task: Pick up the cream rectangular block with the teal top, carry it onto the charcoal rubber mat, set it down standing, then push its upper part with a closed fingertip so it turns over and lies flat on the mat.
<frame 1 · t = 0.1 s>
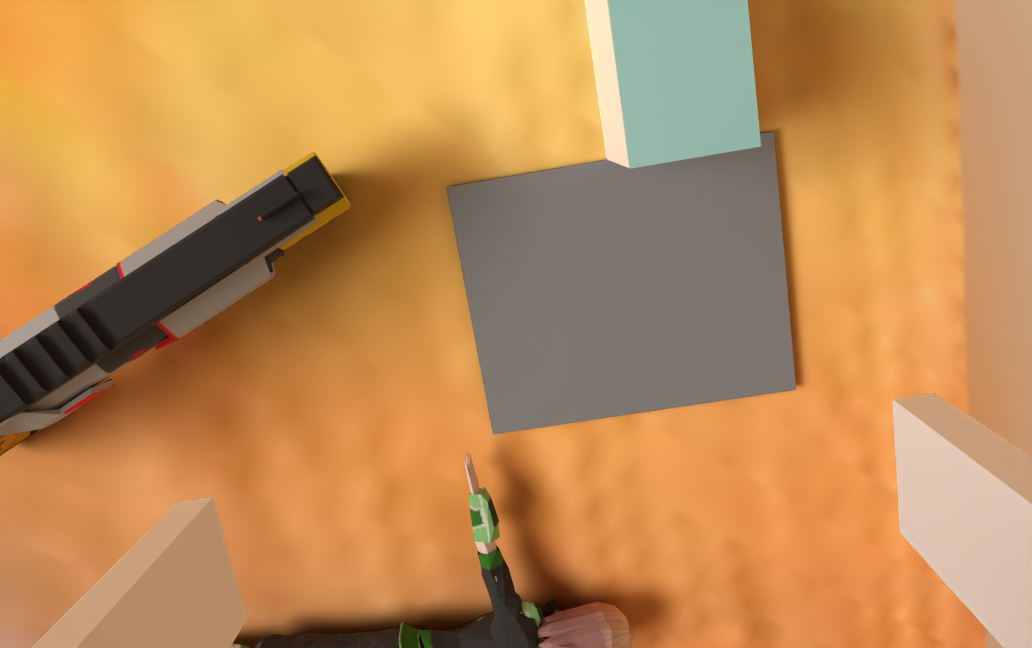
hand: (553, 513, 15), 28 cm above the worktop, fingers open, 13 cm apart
cream rectangular block: (644, 72, 39), on the worktop
toy gun: (167, 309, 43), on the worktop
mat: (624, 288, 42), on the worktop
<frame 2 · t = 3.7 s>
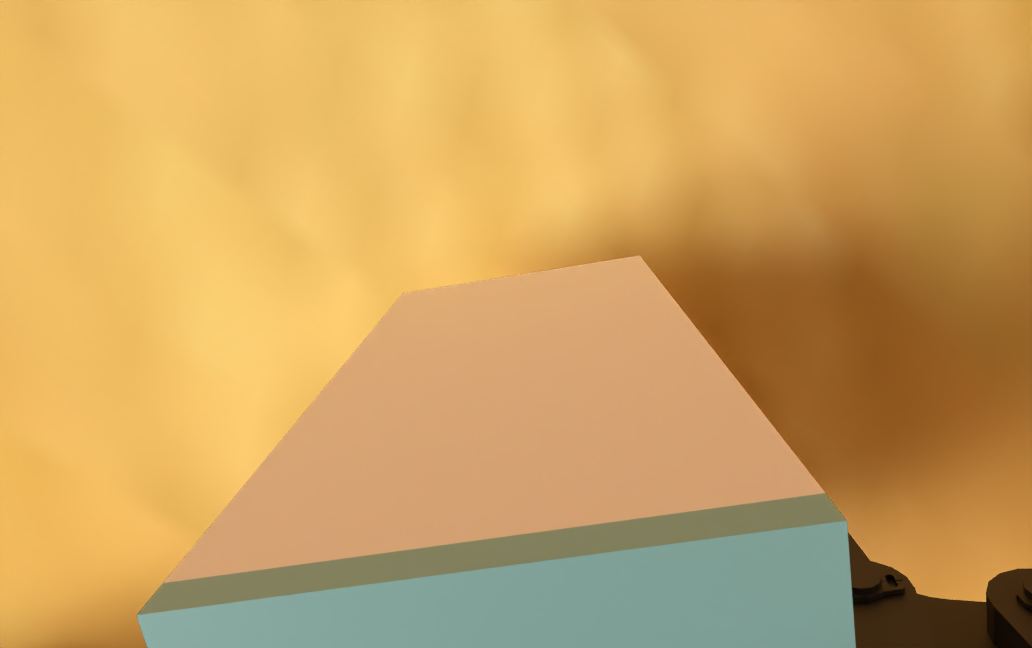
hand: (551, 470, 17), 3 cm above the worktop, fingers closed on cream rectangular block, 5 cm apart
cream rectangular block: (549, 450, 17), point 3 cm above the worktop, touching gripper
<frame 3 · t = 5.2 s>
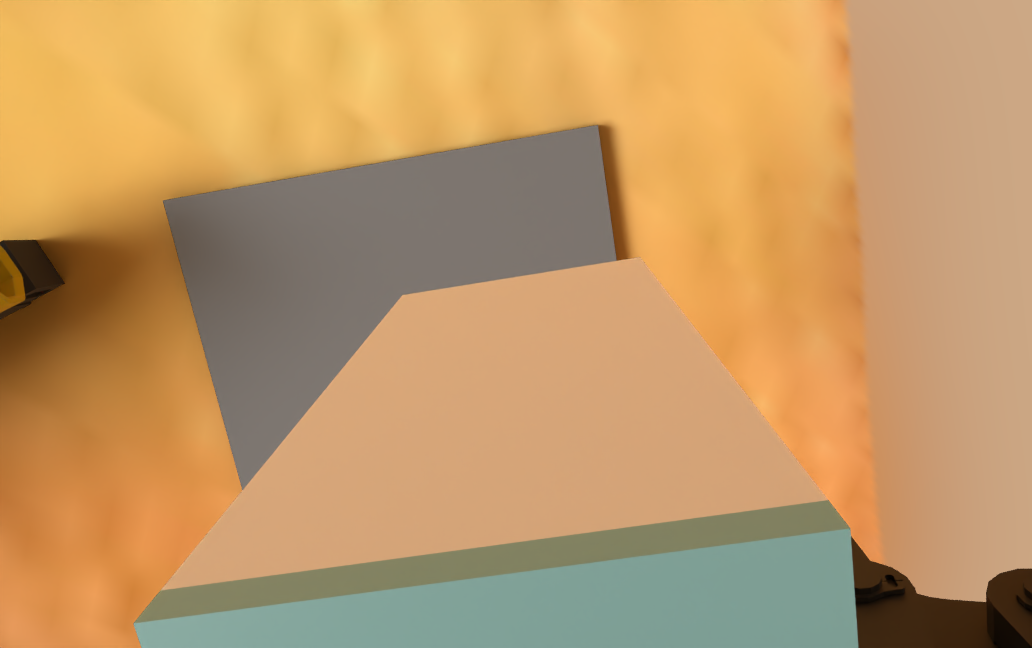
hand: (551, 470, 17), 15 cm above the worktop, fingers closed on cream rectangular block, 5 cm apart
cream rectangular block: (549, 452, 17), point 15 cm above the worktop, touching gripper
mat: (414, 335, 31), on the worktop
when the fingers open (2 cm above the worktop, at t = 7.4 s): cream rectangular block stays where it is, resting on mat.
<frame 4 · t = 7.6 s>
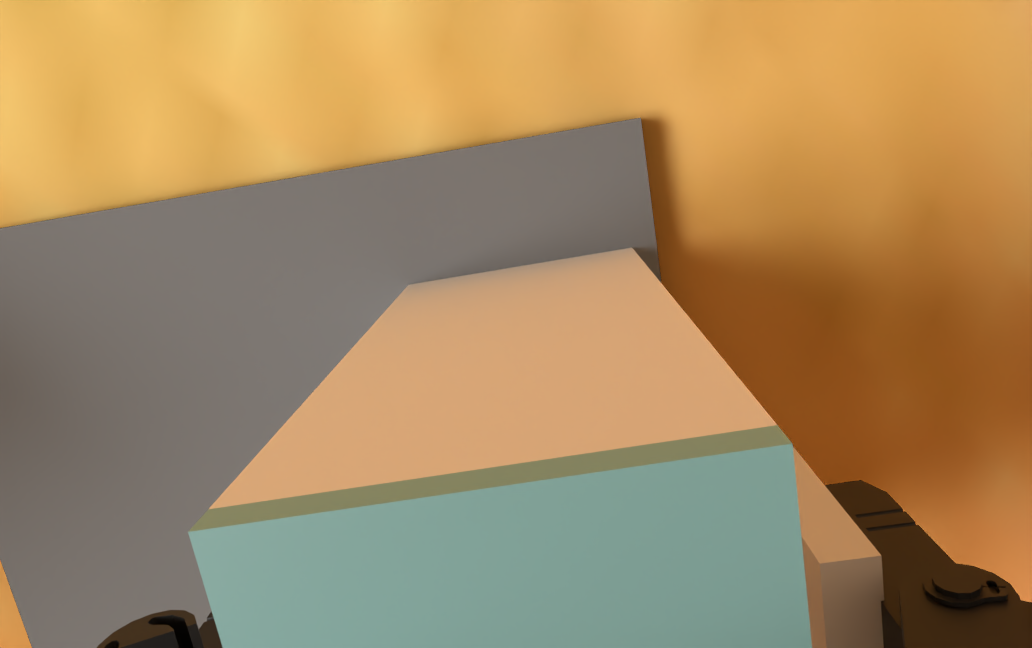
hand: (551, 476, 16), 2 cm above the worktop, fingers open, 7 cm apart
cream rectangular block: (548, 434, 18), point 1 cm above the worktop, touching mat
mat: (329, 468, 19), on the worktop
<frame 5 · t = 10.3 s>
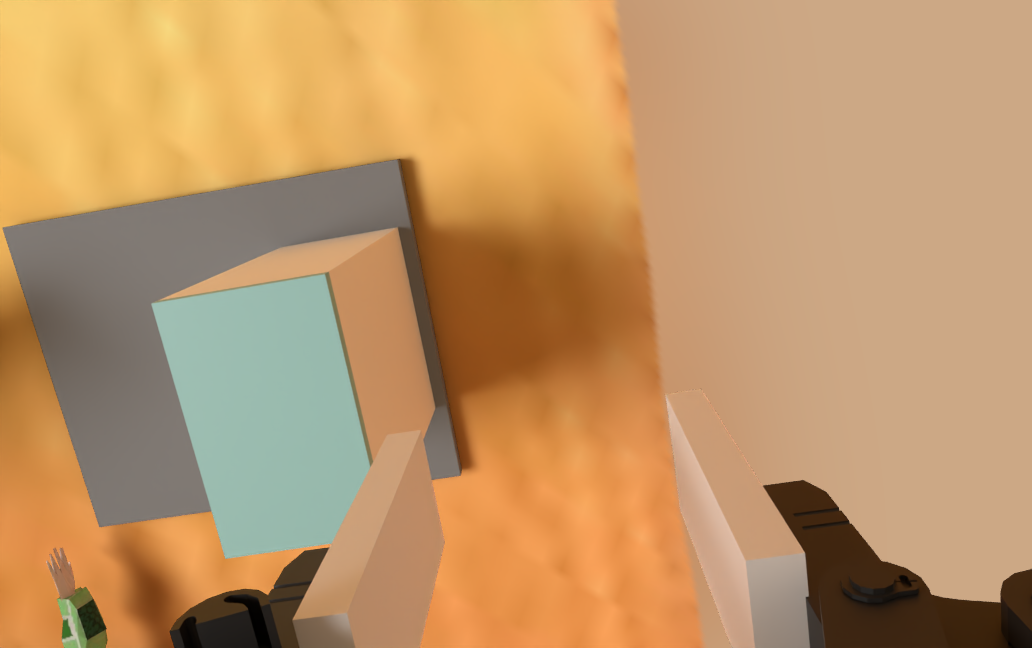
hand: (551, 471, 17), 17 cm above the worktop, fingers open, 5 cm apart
cream rectangular block: (360, 329, 33), point 1 cm above the worktop, touching mat
mat: (243, 351, 34), on the worktop
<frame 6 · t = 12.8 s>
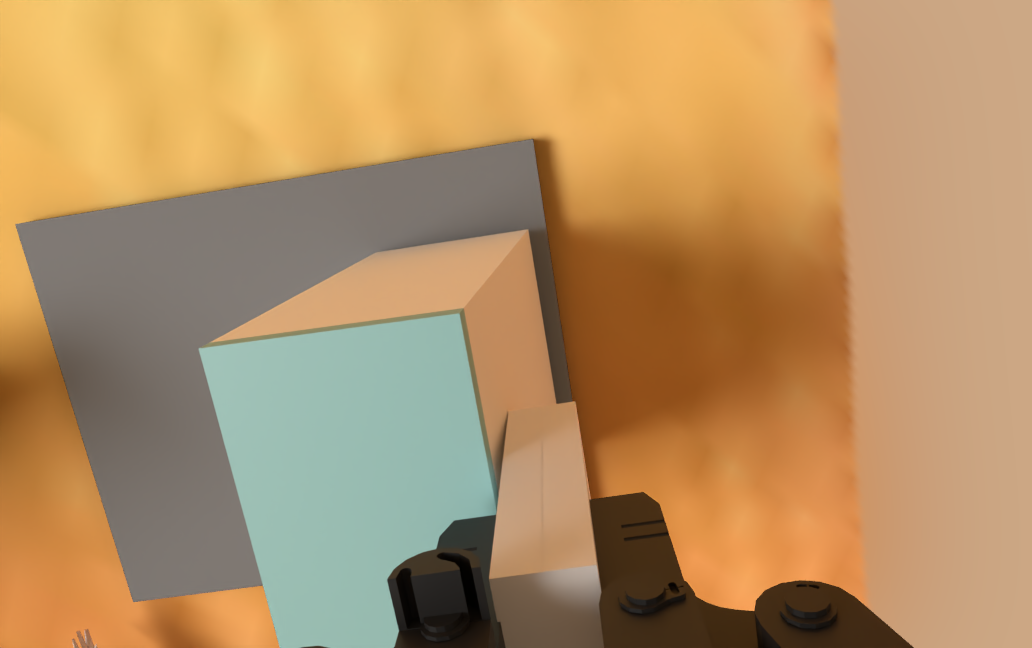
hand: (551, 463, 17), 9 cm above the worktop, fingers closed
cream rectangular block: (473, 360, 25), point 1 cm above the worktop, tilted 6°, touching mat
mat: (321, 384, 27), on the worktop
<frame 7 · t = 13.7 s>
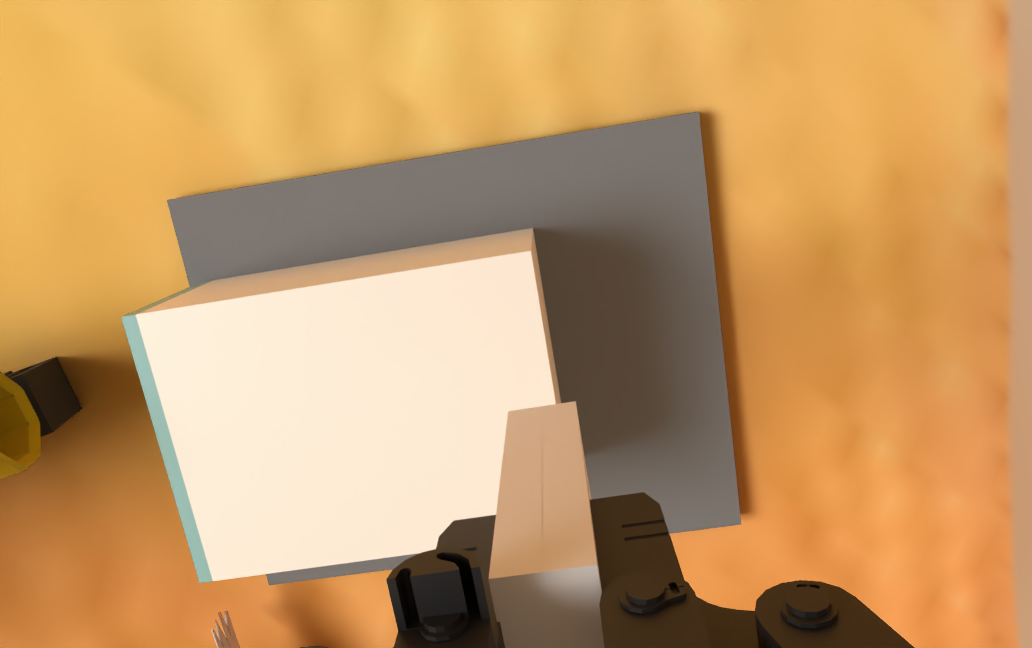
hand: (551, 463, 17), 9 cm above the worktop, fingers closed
cream rectangular block: (553, 369, 23), point 3 cm above the worktop, tilted 90°, touching mat
mat: (467, 363, 26), on the worktop
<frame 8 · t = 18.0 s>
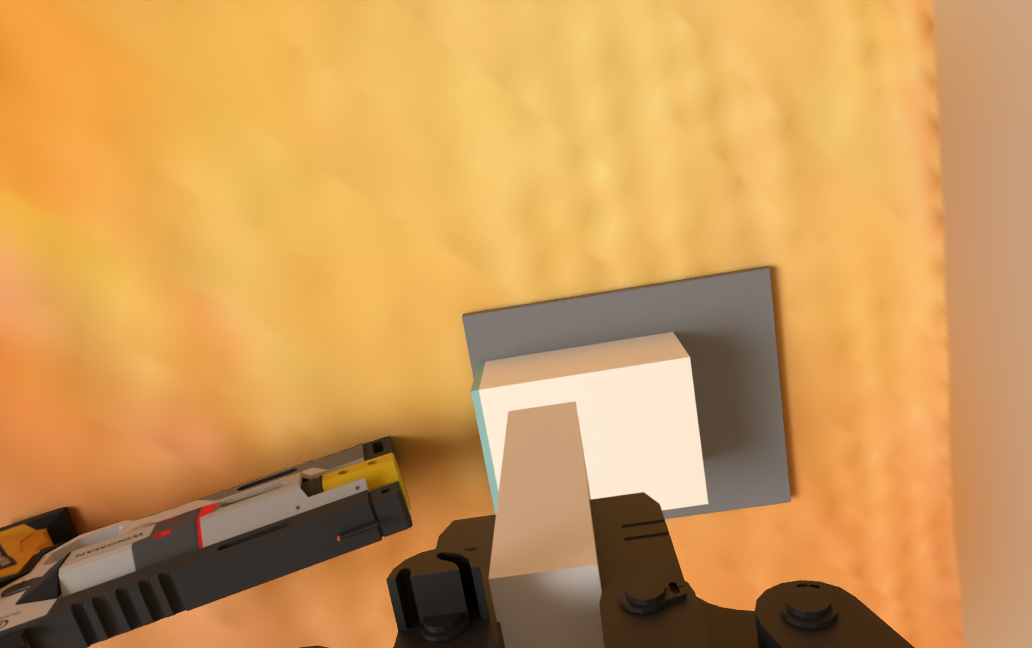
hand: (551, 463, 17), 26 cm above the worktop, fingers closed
cream rectangular block: (690, 414, 41), point 3 cm above the worktop, tilted 90°, touching mat
toy gun: (208, 496, 47), on the worktop
mat: (629, 407, 44), on the worktop
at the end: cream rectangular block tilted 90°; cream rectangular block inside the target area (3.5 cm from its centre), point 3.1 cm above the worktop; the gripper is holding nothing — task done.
